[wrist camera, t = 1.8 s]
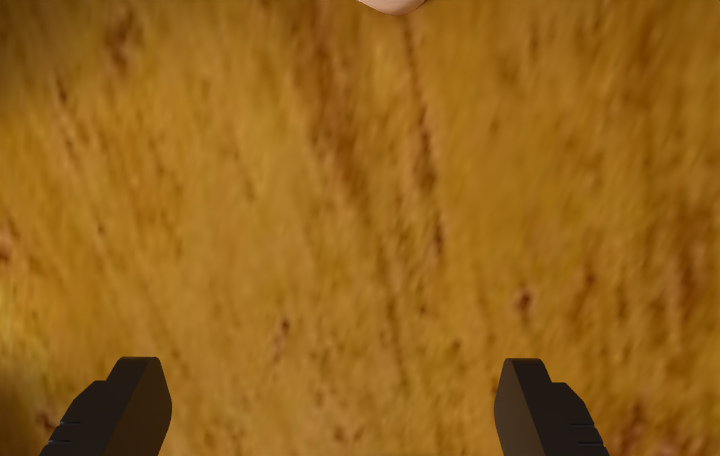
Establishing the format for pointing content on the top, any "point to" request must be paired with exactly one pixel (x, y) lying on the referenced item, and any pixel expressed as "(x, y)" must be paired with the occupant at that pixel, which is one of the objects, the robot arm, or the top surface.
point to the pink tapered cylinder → (393, 6)
